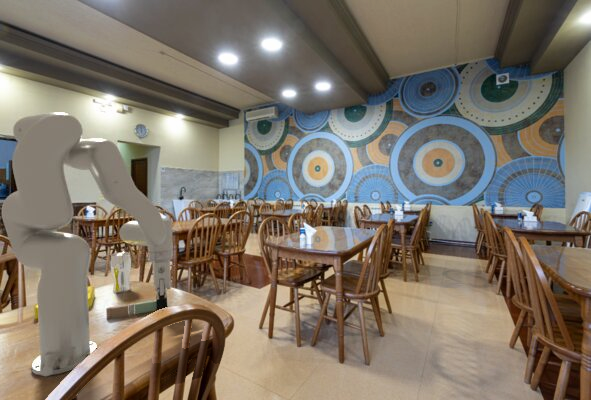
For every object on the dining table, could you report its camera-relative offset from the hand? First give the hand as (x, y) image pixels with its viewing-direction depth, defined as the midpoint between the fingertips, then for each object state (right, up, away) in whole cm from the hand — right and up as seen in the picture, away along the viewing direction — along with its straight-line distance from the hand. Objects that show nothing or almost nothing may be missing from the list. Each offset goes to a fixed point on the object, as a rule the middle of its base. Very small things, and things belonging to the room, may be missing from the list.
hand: (161, 307), depth 97 cm
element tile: (-35, -1, +3) cm, 35 cm away
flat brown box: (-7, -1, -1) cm, 7 cm away
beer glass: (-25, 0, +18) cm, 30 cm away
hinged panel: (-3, -1, -1) cm, 3 cm away
